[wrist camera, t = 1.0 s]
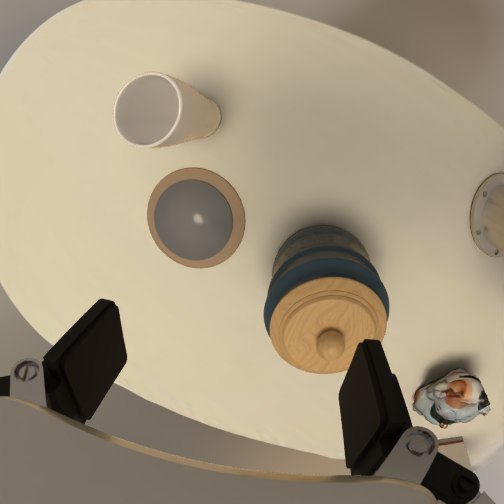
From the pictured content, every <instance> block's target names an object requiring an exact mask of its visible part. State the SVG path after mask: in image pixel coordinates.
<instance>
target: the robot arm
mask: <svg viewBox="0 0 504 504" xmlns="http://www.w3.org/2000/svg"><path fill="white" fill-rule="evenodd" d="M470 223H471V231H472V235H473V238H474V241H475V243H476V244H477V246H478V247H479V248H480V249H481V250H482V251H483V252H484V253H486V254H487V255H489V256H492V257H501V256H504V173H499V174H495V175H493V176H491V177H489V178H488V179H487V180H486V181H485V182H484V183H483V184H482V185H481V186H480V188H479V190H478V191H477V193H476V195H475V198H474V201H473V204H472V209H471V217H470ZM43 358H44V361H43V362H42V363H41V362H40V361H39V360H37V359H34V358H26V359H22V360H20V361H18V362H17V363H16V364H15V365H14V366H13V367H12V369H11V375H10V376H4V377H0V504H495V502H494V501H493V500H492V499H491V498H490V497H489V496H488V495H487V494H486V493H485V492H483V493H480V492H479V488H480V487H479V486H480V484H479V480H478V477H477V476H476V474H475V473H473V472H472V471H470V470H469V469H467V468H465V467H463V466H462V465H460V464H458V463H457V462H455V461H453V460H451V459H450V458H448V457H446V456H445V455H443V454H441V453H440V452H438V448H439V443H438V439H437V437H436V436H435V434H434V433H433V432H432V431H430V430H429V429H427V428H424V427H419V426H416V427H413V426H412V423H411V419H410V416H409V413H408V410H407V407H406V404H405V401H404V398H403V395H402V392H401V389H400V386H399V383H398V380H397V377H396V375H395V374H392V373H391V370H390V367H389V364H388V361H387V359H386V356H385V353H384V350H383V348H382V345H381V342H380V340H375V339H364V340H363V342H359V343H358V345H357V348H356V351H355V353H354V356H353V359H352V361H351V364H350V366H349V369H348V371H347V374H346V376H345V379H344V381H343V384H342V386H341V389H340V391H339V405H340V413H341V421H342V430H343V439H344V449H345V459H346V467H347V468H351V476H350V475H338V476H337V475H331V476H330V475H303V474H286V473H273V472H264V471H255V470H247V469H241V468H234V467H228V466H222V465H217V464H211V463H206V462H201V461H197V460H192V459H188V458H183V457H180V456H176V455H172V454H168V453H164V452H161V451H157V450H154V449H151V448H147V447H144V446H141V445H138V444H135V443H132V442H129V441H126V440H123V439H120V438H117V437H115V436H112V435H109V434H107V433H104V432H101V431H99V430H97V429H94V428H91V427H89V426H87V425H84V424H85V422H86V420H90V419H91V418H92V416H93V414H94V413H95V411H96V409H97V408H98V406H99V405H100V403H101V401H102V400H103V398H104V397H105V395H106V394H107V392H108V390H109V389H110V387H111V386H112V384H113V383H114V381H115V379H116V378H117V376H118V375H119V373H120V372H121V370H122V369H123V367H124V365H125V364H126V361H127V353H126V348H125V343H124V338H123V332H122V326H121V321H120V314H119V309H118V306H116V305H115V303H114V302H113V301H110V300H106V299H99V300H98V301H97V302H96V303H95V304H94V305H93V306H92V307H91V308H90V309H89V310H88V311H87V312H86V313H85V314H84V315H83V316H82V317H81V318H80V319H79V320H78V321H77V322H76V323H75V324H74V325H73V326H72V327H71V328H70V329H69V330H68V331H67V332H66V333H65V334H64V335H63V337H62V338H61V339H60V340H59V341H58V342H57V343H56V344H55V345H54V346H53V347H52V348H51V349H50V350H49V352H47V354H46V355H45V356H44V357H43ZM354 475H361V476H354Z"/></svg>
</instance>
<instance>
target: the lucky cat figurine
mask: <svg viewBox="0 0 504 504" xmlns="http://www.w3.org/2000/svg"><path fill="white" fill-rule="evenodd" d="M414 404H415V405H414V406H413V411H416V412H417V413H418V414H420V415H424V417H425V419H426V420H428V421H429V422H430V423H432V424H436V425H440V427H441V428H447V426H448V425H451V424H453V423H460V422H462V423H466V422H469V421H471V420H472V419H474V418H475V417H476V416H477V415H479V414H480V413H481V414H482V415H484V416H485V415H487V414H488V413H489V411H490V408H489V405H490V402H489V401H488V398H487V395H486V393H485V391H484V388H483V386H482V384H481V382H480V380H479V379H478V378H477V377H476V376H475V375H473V374H468V373H467V372H466V371H465V370H463V369H461V368H458V369H457V370H455V371H454V370H453V371H451V372H450V373H449V374H447V375H446V376H445V377H443V378H441V379H439V380H438V381H436V382H434V383H431V384H429V385H426V386H425V387H423V388H421V389H419V390H417V391H416V395H415V400H414Z"/></svg>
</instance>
